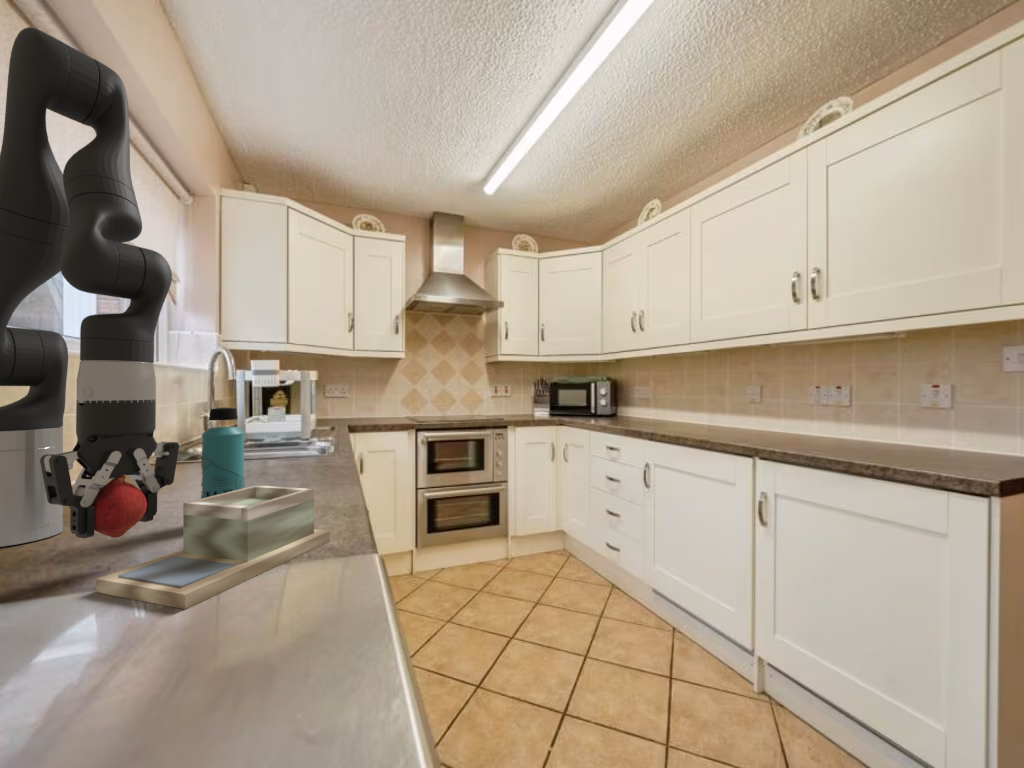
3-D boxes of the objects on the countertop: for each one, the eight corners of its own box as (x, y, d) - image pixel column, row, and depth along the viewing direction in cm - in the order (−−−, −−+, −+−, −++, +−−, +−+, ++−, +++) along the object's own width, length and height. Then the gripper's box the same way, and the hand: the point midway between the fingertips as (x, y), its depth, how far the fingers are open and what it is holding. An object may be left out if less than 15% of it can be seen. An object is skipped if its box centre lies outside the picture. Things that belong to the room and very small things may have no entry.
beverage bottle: (240, 514, 79) (240, 406, 80) (250, 522, 75) (249, 407, 75) (197, 522, 75) (197, 407, 75) (204, 531, 70) (204, 408, 70)
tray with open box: (96, 592, 48) (96, 520, 49) (257, 533, 68) (257, 482, 69) (185, 609, 44) (185, 531, 44) (329, 540, 64) (329, 487, 64)
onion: (108, 547, 52) (109, 480, 52) (71, 544, 53) (72, 478, 53) (157, 531, 57) (158, 471, 57) (123, 528, 58) (123, 470, 58)
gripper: (158, 396, 63) (157, 510, 63) (22, 398, 49) (20, 544, 49) (195, 396, 61) (194, 515, 61) (63, 398, 47) (61, 552, 47)
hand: (116, 527), depth 55 cm, fingers closed on onion, 6 cm apart
